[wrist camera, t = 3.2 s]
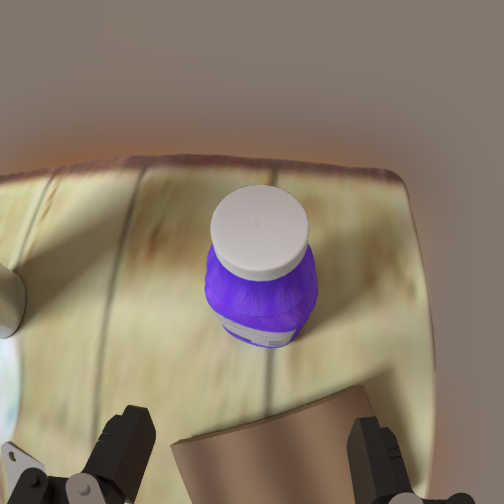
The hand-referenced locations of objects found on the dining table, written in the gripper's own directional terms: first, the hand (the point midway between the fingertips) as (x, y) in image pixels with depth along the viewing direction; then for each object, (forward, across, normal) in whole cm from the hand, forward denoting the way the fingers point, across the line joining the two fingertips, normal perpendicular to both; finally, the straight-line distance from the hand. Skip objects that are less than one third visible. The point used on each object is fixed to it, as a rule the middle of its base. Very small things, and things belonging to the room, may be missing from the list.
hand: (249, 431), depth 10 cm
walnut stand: (+6, -3, +17) cm, 18 cm away
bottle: (+17, 0, +6) cm, 18 cm away
